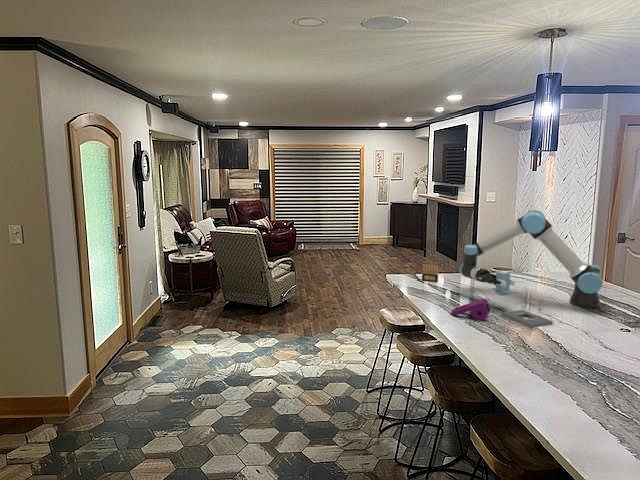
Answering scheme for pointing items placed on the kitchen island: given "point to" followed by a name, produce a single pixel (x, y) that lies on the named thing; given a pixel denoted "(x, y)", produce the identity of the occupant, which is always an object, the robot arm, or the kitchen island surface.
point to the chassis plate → (531, 322)
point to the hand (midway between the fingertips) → (509, 283)
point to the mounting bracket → (474, 309)
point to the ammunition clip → (430, 273)
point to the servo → (501, 289)
